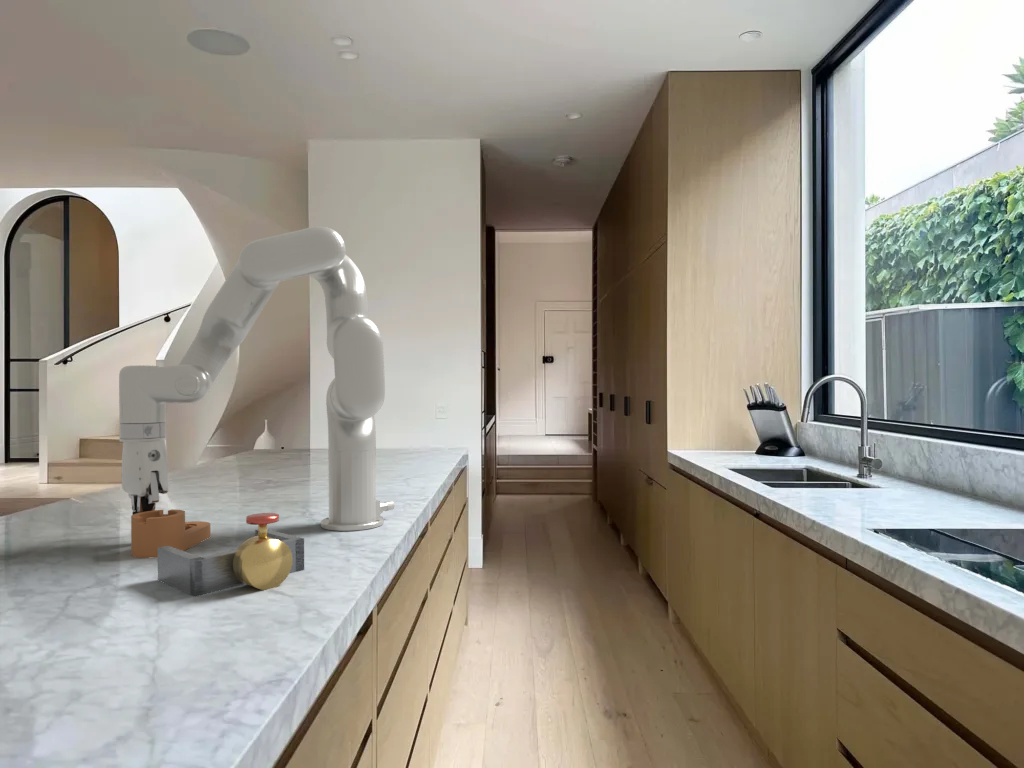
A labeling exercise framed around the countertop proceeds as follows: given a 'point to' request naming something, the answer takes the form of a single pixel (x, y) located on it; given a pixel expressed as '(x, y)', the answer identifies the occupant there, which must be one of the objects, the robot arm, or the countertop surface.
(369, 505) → the robot arm
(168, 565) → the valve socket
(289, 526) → the countertop surface
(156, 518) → the bracket
